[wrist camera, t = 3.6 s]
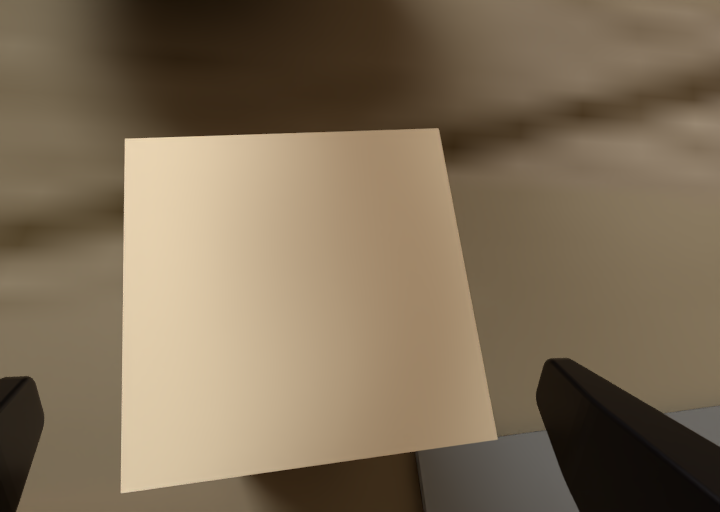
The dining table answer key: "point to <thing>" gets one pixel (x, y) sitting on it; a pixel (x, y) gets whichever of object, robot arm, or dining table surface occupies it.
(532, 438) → the rubber mat
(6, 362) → the dining table surface
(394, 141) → the birch block
